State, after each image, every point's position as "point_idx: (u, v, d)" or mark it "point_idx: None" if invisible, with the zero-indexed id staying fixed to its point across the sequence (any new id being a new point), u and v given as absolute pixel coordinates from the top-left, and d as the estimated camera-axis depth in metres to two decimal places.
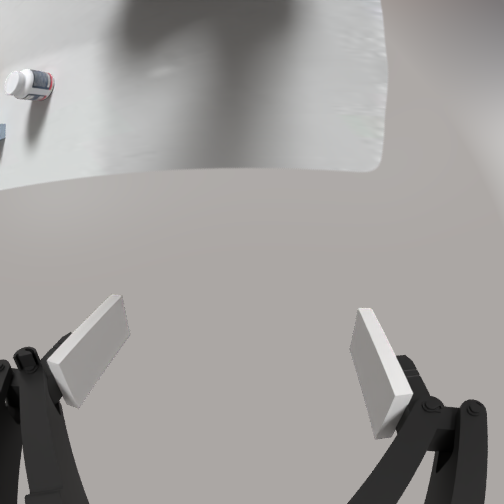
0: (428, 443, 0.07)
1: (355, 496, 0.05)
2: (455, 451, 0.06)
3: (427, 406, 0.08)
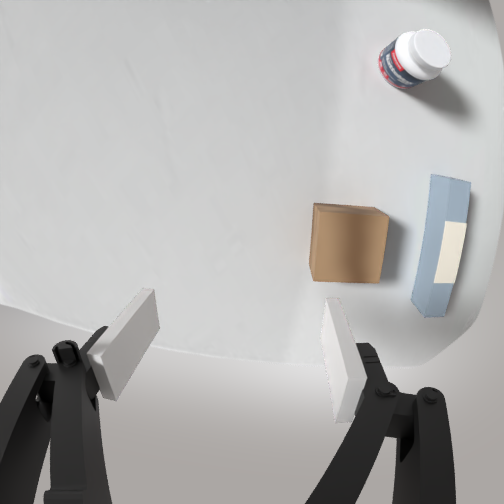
0: (386, 426, 0.08)
1: (319, 484, 0.06)
2: (416, 440, 0.07)
3: (381, 391, 0.09)
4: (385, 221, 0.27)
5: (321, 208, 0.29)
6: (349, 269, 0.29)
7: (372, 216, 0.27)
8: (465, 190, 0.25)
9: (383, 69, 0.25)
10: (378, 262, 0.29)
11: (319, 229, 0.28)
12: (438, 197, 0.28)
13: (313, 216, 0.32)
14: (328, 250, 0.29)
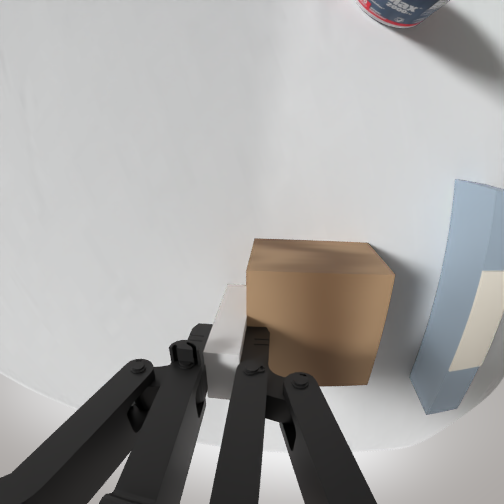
0: (264, 401, 0.09)
1: (218, 468, 0.07)
2: (297, 428, 0.08)
3: (248, 370, 0.11)
4: (386, 284, 0.13)
5: (258, 257, 0.15)
6: (311, 367, 0.15)
7: (360, 276, 0.13)
8: None
9: None
10: (367, 355, 0.15)
11: (248, 303, 0.14)
12: (469, 223, 0.14)
13: None
14: None
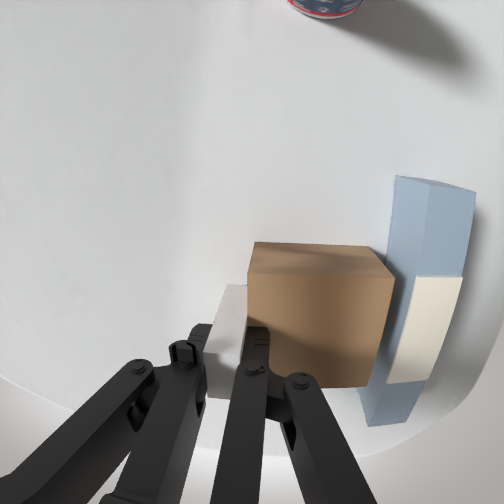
0: (264, 401, 0.09)
1: (218, 468, 0.07)
2: (298, 428, 0.08)
3: (248, 370, 0.11)
4: (386, 287, 0.13)
5: (259, 260, 0.15)
6: (311, 369, 0.15)
7: (360, 279, 0.13)
8: (463, 209, 0.12)
9: None
10: (367, 358, 0.15)
11: (249, 306, 0.14)
12: (406, 223, 0.15)
13: None
14: (270, 341, 0.15)
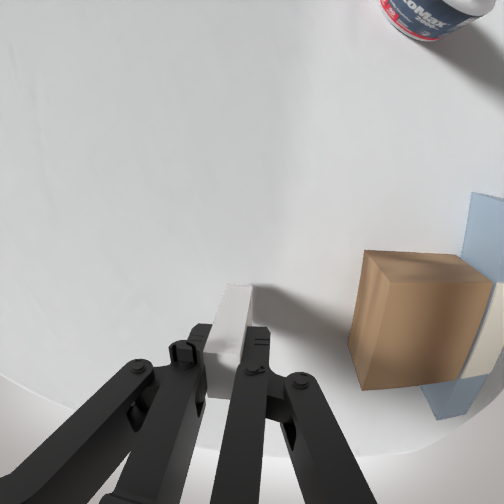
0: (264, 401, 0.09)
1: (218, 468, 0.07)
2: (298, 428, 0.08)
3: (248, 370, 0.11)
4: (487, 290, 0.13)
5: (386, 268, 0.15)
6: (420, 368, 0.15)
7: (471, 284, 0.13)
8: None
9: (388, 4, 0.11)
10: (463, 353, 0.14)
11: (385, 313, 0.14)
12: (485, 235, 0.14)
13: (363, 274, 0.18)
14: (394, 345, 0.14)
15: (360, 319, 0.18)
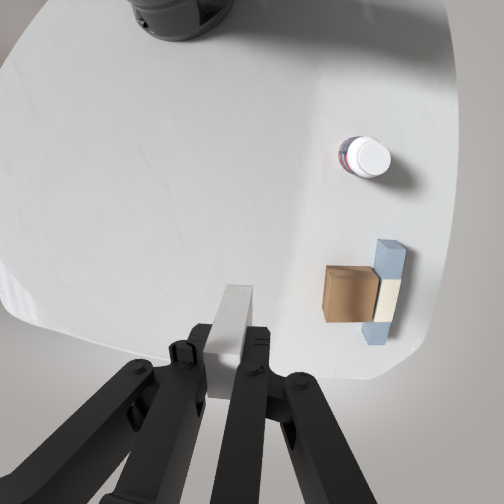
0: (264, 401, 0.09)
1: (218, 468, 0.07)
2: (298, 428, 0.08)
3: (249, 369, 0.11)
4: (376, 282, 0.40)
5: (332, 273, 0.42)
6: (350, 313, 0.42)
7: (367, 279, 0.40)
8: (400, 256, 0.39)
9: (341, 162, 0.38)
10: (370, 308, 0.41)
11: (331, 289, 0.41)
12: (380, 259, 0.41)
13: (326, 275, 0.45)
14: (336, 302, 0.41)
15: (325, 294, 0.45)
